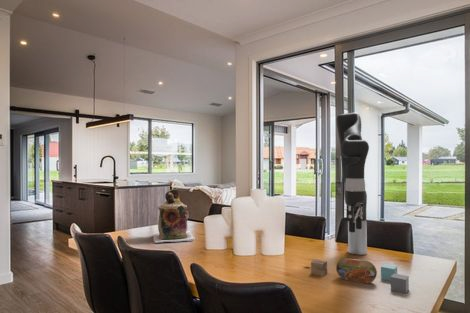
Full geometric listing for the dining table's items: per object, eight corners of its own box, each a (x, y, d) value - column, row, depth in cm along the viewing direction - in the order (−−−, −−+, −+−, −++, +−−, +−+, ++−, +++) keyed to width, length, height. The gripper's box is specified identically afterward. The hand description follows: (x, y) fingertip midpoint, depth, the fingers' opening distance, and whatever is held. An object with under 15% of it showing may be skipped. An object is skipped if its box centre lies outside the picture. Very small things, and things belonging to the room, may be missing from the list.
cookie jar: (152, 236, 215) (152, 187, 217) (189, 233, 223) (189, 186, 224) (154, 244, 192) (155, 189, 193) (196, 241, 199) (196, 188, 200)
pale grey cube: (393, 286, 123) (393, 273, 123) (408, 289, 120) (408, 276, 120) (390, 290, 119) (390, 276, 120) (406, 294, 116) (405, 279, 116)
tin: (336, 278, 133) (336, 257, 133) (338, 276, 135) (338, 255, 136) (376, 285, 125) (375, 263, 125) (377, 283, 127) (377, 261, 127)
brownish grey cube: (316, 271, 142) (316, 259, 142) (327, 273, 139) (327, 261, 139) (311, 274, 138) (311, 262, 138) (322, 276, 135) (322, 264, 135)
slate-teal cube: (384, 276, 136) (384, 263, 136) (397, 278, 133) (397, 266, 133) (381, 279, 132) (380, 266, 132) (394, 282, 129) (394, 269, 129)
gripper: (351, 188, 140) (351, 227, 139) (339, 190, 128) (339, 232, 128) (369, 189, 135) (370, 229, 134) (359, 191, 124) (359, 234, 123)
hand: (355, 230), depth 131 cm, fingers open, 8 cm apart
